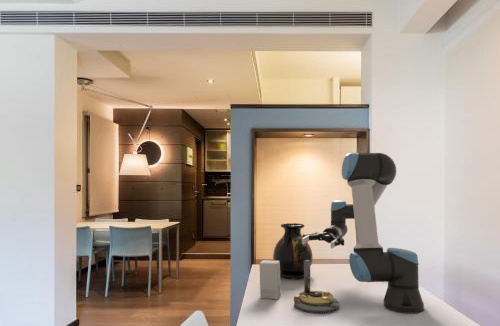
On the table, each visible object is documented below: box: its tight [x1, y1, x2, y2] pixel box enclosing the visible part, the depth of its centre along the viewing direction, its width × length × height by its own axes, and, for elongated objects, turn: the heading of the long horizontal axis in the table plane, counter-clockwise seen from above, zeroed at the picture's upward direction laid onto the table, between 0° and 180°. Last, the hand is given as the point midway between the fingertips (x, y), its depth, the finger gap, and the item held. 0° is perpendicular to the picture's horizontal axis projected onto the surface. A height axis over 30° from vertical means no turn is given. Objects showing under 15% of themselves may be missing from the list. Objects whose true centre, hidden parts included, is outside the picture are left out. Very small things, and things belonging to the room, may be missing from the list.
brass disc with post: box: [298, 260, 334, 306], centre depth 154 cm, size 14×14×15 cm
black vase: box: [272, 222, 313, 280], centre depth 203 cm, size 22×22×28 cm
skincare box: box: [259, 259, 281, 300], centre depth 165 cm, size 8×7×16 cm
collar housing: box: [293, 290, 340, 315], centre depth 153 cm, size 18×18×5 cm
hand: (316, 243), depth 168 cm, fingers open, 13 cm apart
